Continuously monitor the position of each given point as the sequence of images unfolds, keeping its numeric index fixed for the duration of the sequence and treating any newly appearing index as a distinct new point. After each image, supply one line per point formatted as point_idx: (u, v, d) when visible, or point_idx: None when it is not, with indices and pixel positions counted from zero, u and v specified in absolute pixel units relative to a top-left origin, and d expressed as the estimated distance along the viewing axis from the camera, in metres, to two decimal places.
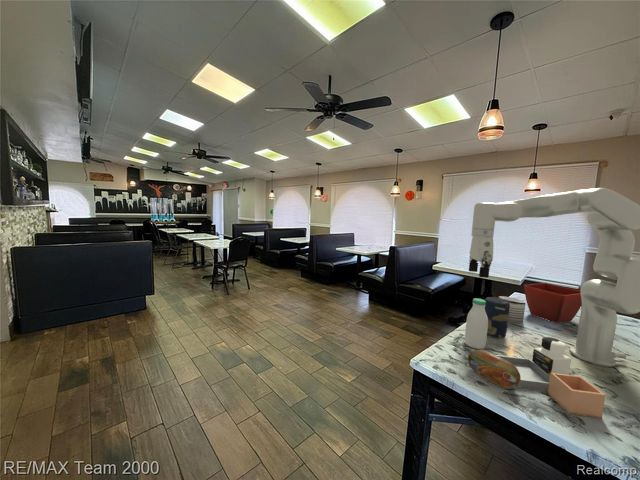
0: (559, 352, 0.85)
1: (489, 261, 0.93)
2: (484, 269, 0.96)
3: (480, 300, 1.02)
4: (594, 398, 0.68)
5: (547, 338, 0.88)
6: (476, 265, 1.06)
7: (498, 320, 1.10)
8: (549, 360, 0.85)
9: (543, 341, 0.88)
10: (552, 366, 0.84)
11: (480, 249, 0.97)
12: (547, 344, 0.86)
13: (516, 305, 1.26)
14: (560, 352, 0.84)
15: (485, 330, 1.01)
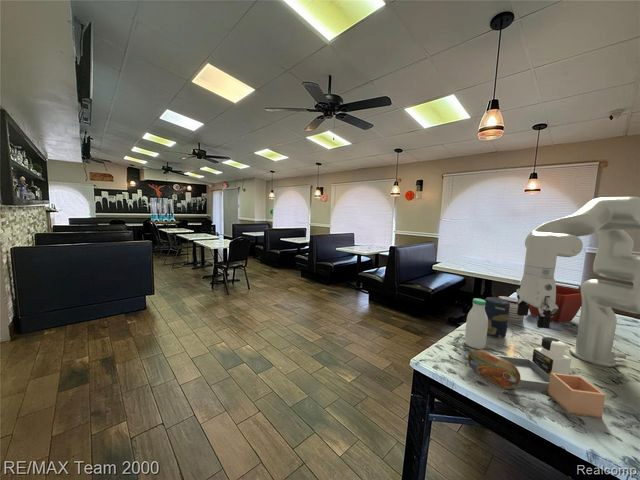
0: (559, 352, 0.85)
1: (554, 311, 0.74)
2: (545, 319, 0.76)
3: (480, 300, 1.02)
4: (594, 398, 0.68)
5: (547, 338, 0.88)
6: (527, 308, 0.86)
7: (498, 320, 1.10)
8: (549, 360, 0.85)
9: (543, 341, 0.88)
10: (552, 366, 0.84)
11: (538, 294, 0.77)
12: (547, 344, 0.86)
13: (516, 305, 1.26)
14: (560, 352, 0.84)
15: (485, 330, 1.01)
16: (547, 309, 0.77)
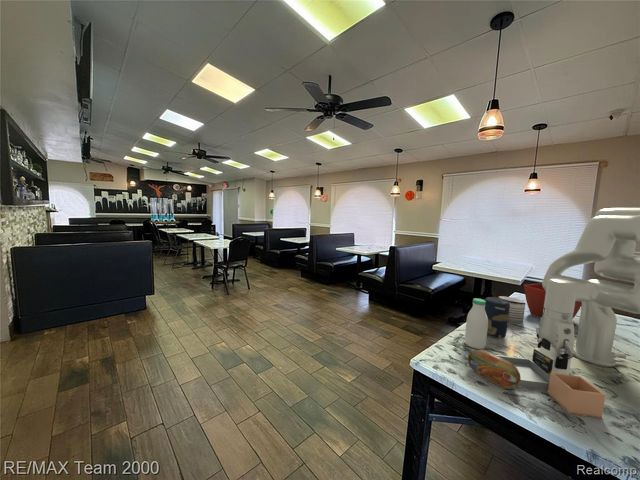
0: None
1: (571, 355, 0.80)
2: (562, 361, 0.82)
3: (480, 300, 1.02)
4: (594, 398, 0.68)
5: None
6: None
7: (498, 320, 1.10)
8: (549, 360, 0.85)
9: (543, 341, 0.88)
10: (552, 366, 0.84)
11: (557, 337, 0.83)
12: (547, 344, 0.86)
13: (516, 305, 1.26)
14: None
15: (485, 330, 1.01)
16: (565, 351, 0.83)
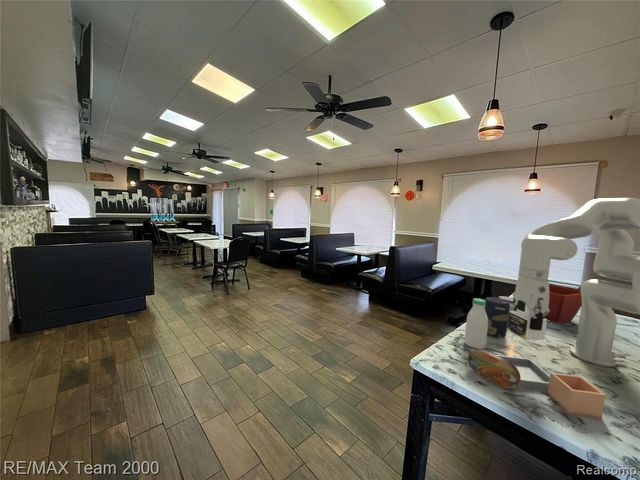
0: None
1: (545, 313, 0.76)
2: (537, 321, 0.78)
3: (480, 300, 1.02)
4: (594, 398, 0.68)
5: None
6: None
7: (498, 320, 1.10)
8: (524, 322, 0.81)
9: (518, 303, 0.84)
10: (527, 327, 0.80)
11: (532, 296, 0.79)
12: (522, 305, 0.82)
13: None
14: None
15: (485, 330, 1.01)
16: (540, 311, 0.79)
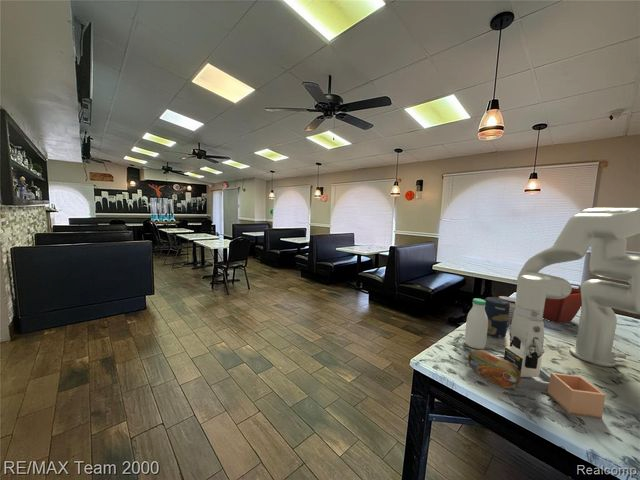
0: None
1: (540, 354, 0.77)
2: (532, 359, 0.80)
3: (480, 300, 1.02)
4: (594, 398, 0.68)
5: None
6: None
7: (498, 320, 1.10)
8: (519, 359, 0.82)
9: (514, 339, 0.85)
10: (522, 365, 0.82)
11: (527, 335, 0.80)
12: (517, 342, 0.84)
13: None
14: None
15: (485, 330, 1.01)
16: (535, 350, 0.81)
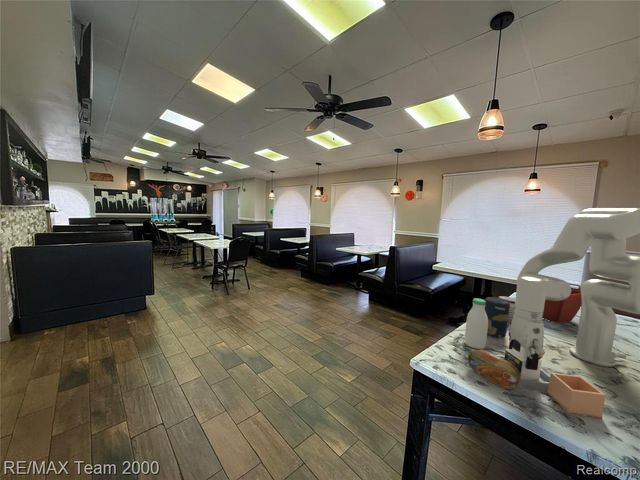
0: None
1: (540, 355, 0.77)
2: (532, 361, 0.80)
3: (480, 300, 1.02)
4: (594, 398, 0.68)
5: None
6: None
7: (498, 320, 1.10)
8: (519, 362, 0.83)
9: (514, 342, 0.86)
10: (522, 368, 0.82)
11: (527, 336, 0.80)
12: (517, 345, 0.84)
13: None
14: None
15: (485, 330, 1.01)
16: (535, 351, 0.80)
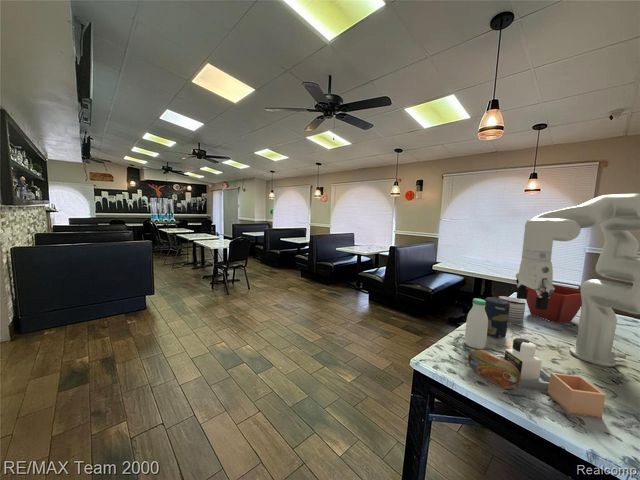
0: (529, 353, 0.82)
1: (550, 292, 0.77)
2: (542, 300, 0.80)
3: (480, 300, 1.02)
4: (594, 398, 0.68)
5: (518, 339, 0.86)
6: (526, 291, 0.90)
7: (498, 320, 1.10)
8: (519, 362, 0.83)
9: (514, 342, 0.86)
10: (522, 368, 0.82)
11: (536, 276, 0.81)
12: (517, 345, 0.84)
13: (516, 305, 1.26)
14: (530, 353, 0.82)
15: (485, 330, 1.01)
16: (544, 291, 0.81)
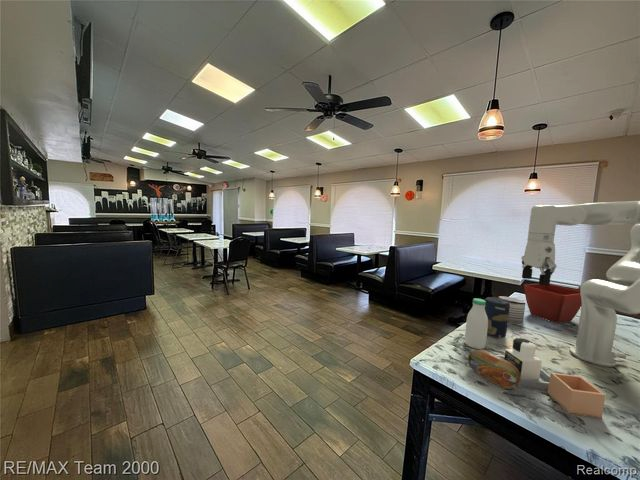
0: (529, 353, 0.82)
1: (553, 269, 0.87)
2: (545, 277, 0.89)
3: (480, 300, 1.02)
4: (594, 398, 0.68)
5: (518, 339, 0.86)
6: (530, 272, 0.99)
7: (498, 320, 1.10)
8: (519, 362, 0.83)
9: (514, 342, 0.86)
10: (522, 368, 0.82)
11: (540, 255, 0.90)
12: (517, 345, 0.84)
13: (516, 305, 1.26)
14: (530, 353, 0.82)
15: (485, 330, 1.01)
16: (547, 269, 0.90)
